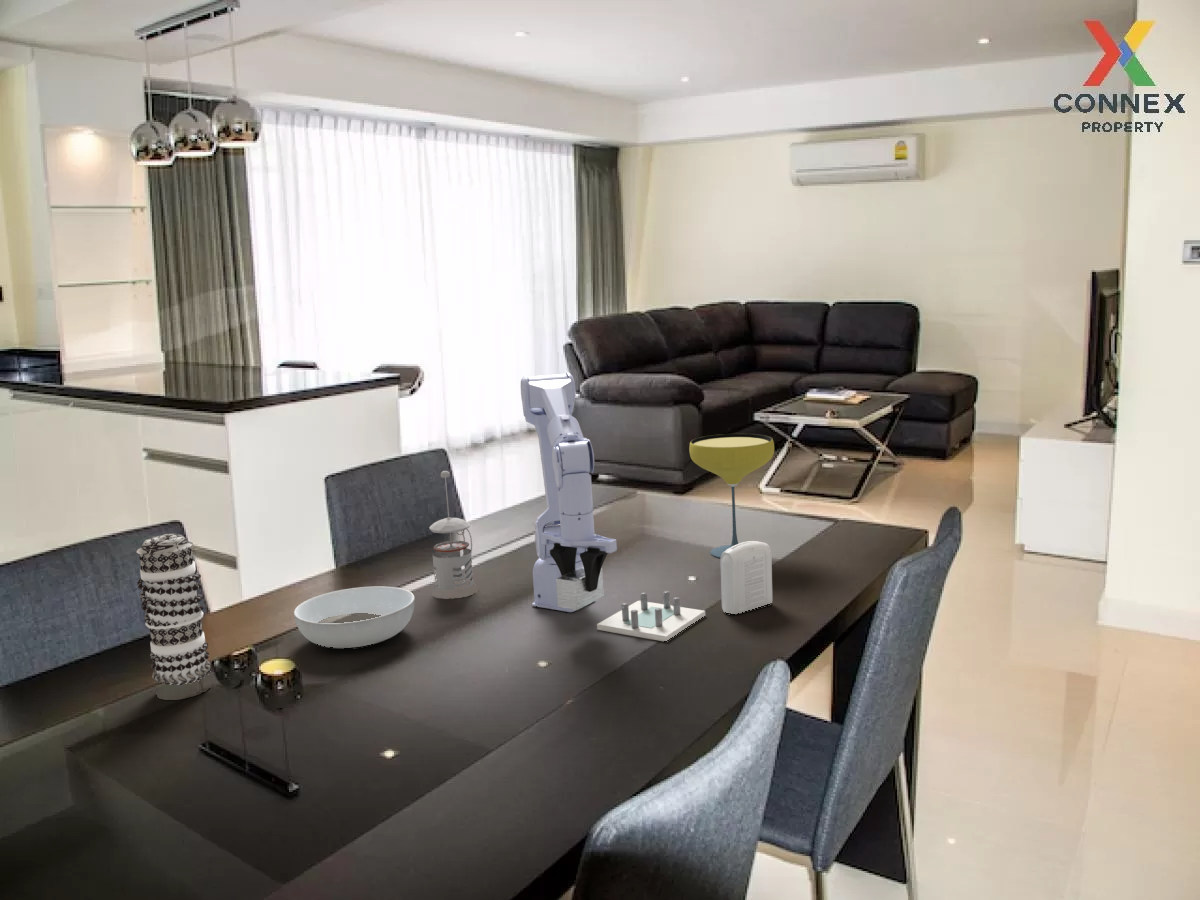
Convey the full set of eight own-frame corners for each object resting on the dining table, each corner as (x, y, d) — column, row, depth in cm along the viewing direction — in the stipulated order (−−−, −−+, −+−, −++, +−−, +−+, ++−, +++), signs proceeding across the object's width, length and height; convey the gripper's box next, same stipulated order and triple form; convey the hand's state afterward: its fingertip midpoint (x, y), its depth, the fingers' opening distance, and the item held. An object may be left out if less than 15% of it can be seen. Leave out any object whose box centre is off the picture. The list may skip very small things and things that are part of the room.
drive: (558, 606, 167) (556, 578, 166) (585, 593, 173) (583, 565, 173) (577, 610, 165) (575, 581, 164) (603, 596, 171) (602, 568, 170)
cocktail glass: (789, 546, 218) (786, 434, 213) (756, 568, 203) (753, 449, 198) (715, 538, 227) (711, 432, 223) (679, 559, 212) (674, 445, 208)
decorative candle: (154, 707, 150) (132, 549, 146) (151, 686, 158) (129, 536, 154) (218, 693, 154) (198, 538, 150) (211, 673, 162) (192, 527, 158)
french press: (421, 597, 196) (410, 475, 192) (451, 580, 207) (441, 463, 203) (464, 601, 192) (453, 476, 188) (492, 583, 203) (482, 464, 199)
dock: (597, 629, 172) (596, 607, 172) (638, 605, 184) (637, 585, 183) (666, 641, 165) (665, 619, 164) (705, 616, 176) (704, 594, 175)
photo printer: (760, 599, 183) (758, 535, 181) (776, 604, 180) (774, 539, 178) (718, 611, 178) (715, 545, 176) (733, 617, 174) (731, 550, 172)
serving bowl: (440, 625, 179) (437, 589, 178) (368, 668, 161) (364, 628, 160) (349, 615, 188) (346, 580, 187) (271, 654, 170) (267, 616, 168)
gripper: (528, 513, 167) (533, 589, 170) (598, 520, 159) (603, 600, 162) (553, 504, 173) (558, 578, 175) (621, 511, 165) (626, 588, 167)
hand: (581, 588), depth 169 cm, fingers closed on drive, 4 cm apart
